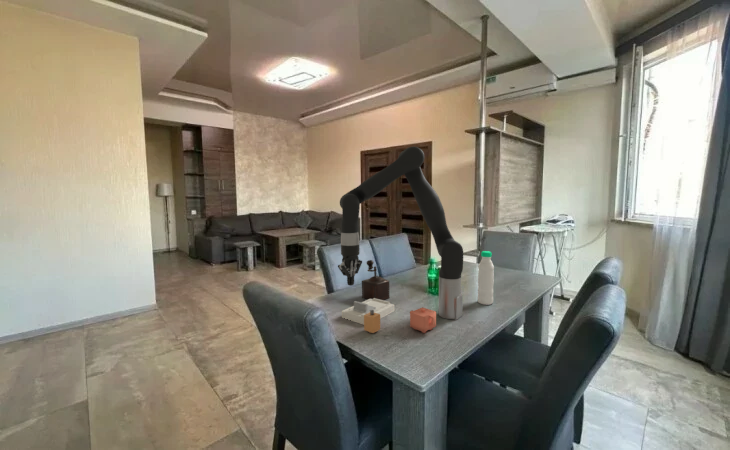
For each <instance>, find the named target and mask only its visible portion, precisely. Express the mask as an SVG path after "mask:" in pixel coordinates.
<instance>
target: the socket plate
mask: <svg viewBox="0 0 730 450" xmlns="http://www.w3.org/2000/svg"><path fill="white" fill-rule="evenodd" d="M360 302H361V303H365V304H367V305H369V306H373V307H376V309H375V310H374V313H378V314H380V320H381V319H382V318H385V317H386V316H388V315H390V314H391V313H394V312H395V311H396V310H395V304H393V303H391V301H387V300H380V299H376V298H373V299H368V300H364V301H360ZM353 308H354V305H353V306H349V307H347V308H346V309H343V310H341V318H342V319H344V318H345V320H347V319H348V320H347V321H350V320H351V321H350V322H353V323H357V324H359V325H360V324H361V325H363V326H364V315H365V313H361V312H357V311H354V310H353Z"/></svg>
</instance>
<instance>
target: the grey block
mask: <svg viewBox="0 0 730 450" xmlns="http://www.w3.org/2000/svg"><path fill="white" fill-rule="evenodd" d="M361 302H362V301H358V300H355V301H353V306H354V308H353V310H354V311H357V312H361V313H365V314H367V313H369V312H370V310H375V309H376V307H373V306H369V305H367V304H365V303H361Z"/></svg>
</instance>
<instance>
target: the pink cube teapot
mask: <svg viewBox="0 0 730 450" xmlns="http://www.w3.org/2000/svg"><path fill="white" fill-rule="evenodd" d="M409 327H410V328H411V329H413V330H414V331H419V332H421V333H422V334H426V333H427V331H429V330H430V331H432V330H433V328H435V327H437V311H435V310H434V309H433V310H432V309H429V308H426V307H424V306H422V307H420V308H417V309H414V310H410V312H409Z"/></svg>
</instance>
